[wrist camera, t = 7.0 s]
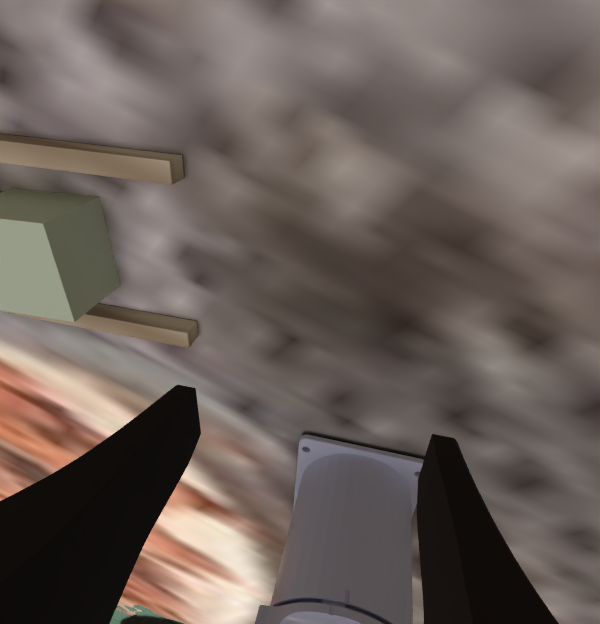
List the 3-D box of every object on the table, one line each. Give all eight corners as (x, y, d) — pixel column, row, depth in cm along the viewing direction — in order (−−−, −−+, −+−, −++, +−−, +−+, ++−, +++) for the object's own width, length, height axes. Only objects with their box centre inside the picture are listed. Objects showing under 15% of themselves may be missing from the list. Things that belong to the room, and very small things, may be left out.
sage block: (121, 284, 24) (74, 322, 20) (44, 273, 24) (-14, 308, 21) (100, 195, 21) (42, 223, 18) (14, 187, 22) (-57, 212, 18)
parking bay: (198, 335, 24) (189, 347, 23) (23, 303, 26) (8, 313, 25) (181, 155, 19) (169, 161, 18) (-38, 129, 20) (-61, 133, 19)
